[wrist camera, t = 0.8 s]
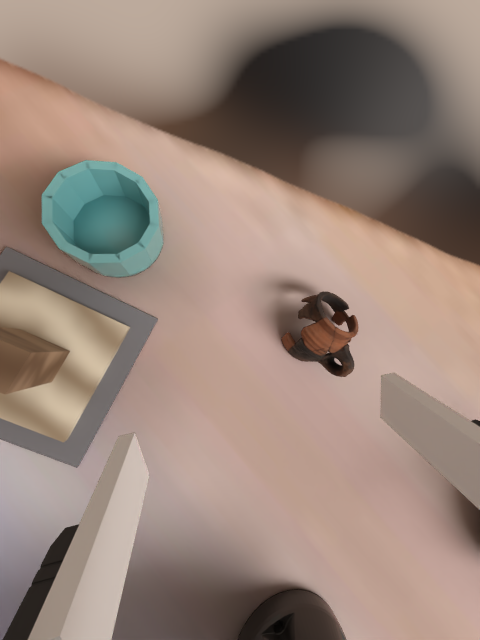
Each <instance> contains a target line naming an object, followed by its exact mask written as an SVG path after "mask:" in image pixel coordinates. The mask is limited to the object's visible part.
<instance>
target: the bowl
mask: <svg viewBox="0 0 480 640" xmlns="http://www.w3.org/2000/svg"><path fill="white" fill-rule="evenodd" d="M42 224H43V226H44V227H45V229H46V230H47V232H48V233H49V235H50V236H51V237H52V239H53V240H54V242H55V243H56V245H57V246H58V248H59V249H60V250H62V251H63V252H64V253H66V254H67V255H68V256H70V257H71V258H72V259H74V260H75V261H76V262H78V263H79V264H81V265H83V266H85V267H87V268H89V269H90V270H92V271H94V272H96V273H98V274H100V275H103V276H108V277H117V278H121V277H129V276H133V275H136V274H138V273H140V272H143V271H144V270H146V269H147V268H149V267H150V266H151V265H152V264H153V263H154V262H155V261H156V259H157V258H158V256H159V254H160V252H161V250H162V246H163V241H164V234H163V225H162V217H161V213H160V208H159V204H158V200H157V198H156V197H155V195H154V194H153V192H152V191H151V189H150V188H149V186H148V185H147V183H146V182H145V180H144V179H143V177H142V176H140V175H138V174H136V173H134V172H133V171H131V170H129V169H127V168H125V167H124V166H122V165H120V164H118V163H117V162H103V161H89V160H85V161H83V162H80V163H78V164H76V165H73V166H71V167H69V168H66V169H64V170H62V171H59V172H58V173H57V174H56V176H55V177H54V178H53V180H52V181H51V183H50V184H49V186H48V187H47V188H46V190H45V191H44V193H43V194H42Z"/></svg>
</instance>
